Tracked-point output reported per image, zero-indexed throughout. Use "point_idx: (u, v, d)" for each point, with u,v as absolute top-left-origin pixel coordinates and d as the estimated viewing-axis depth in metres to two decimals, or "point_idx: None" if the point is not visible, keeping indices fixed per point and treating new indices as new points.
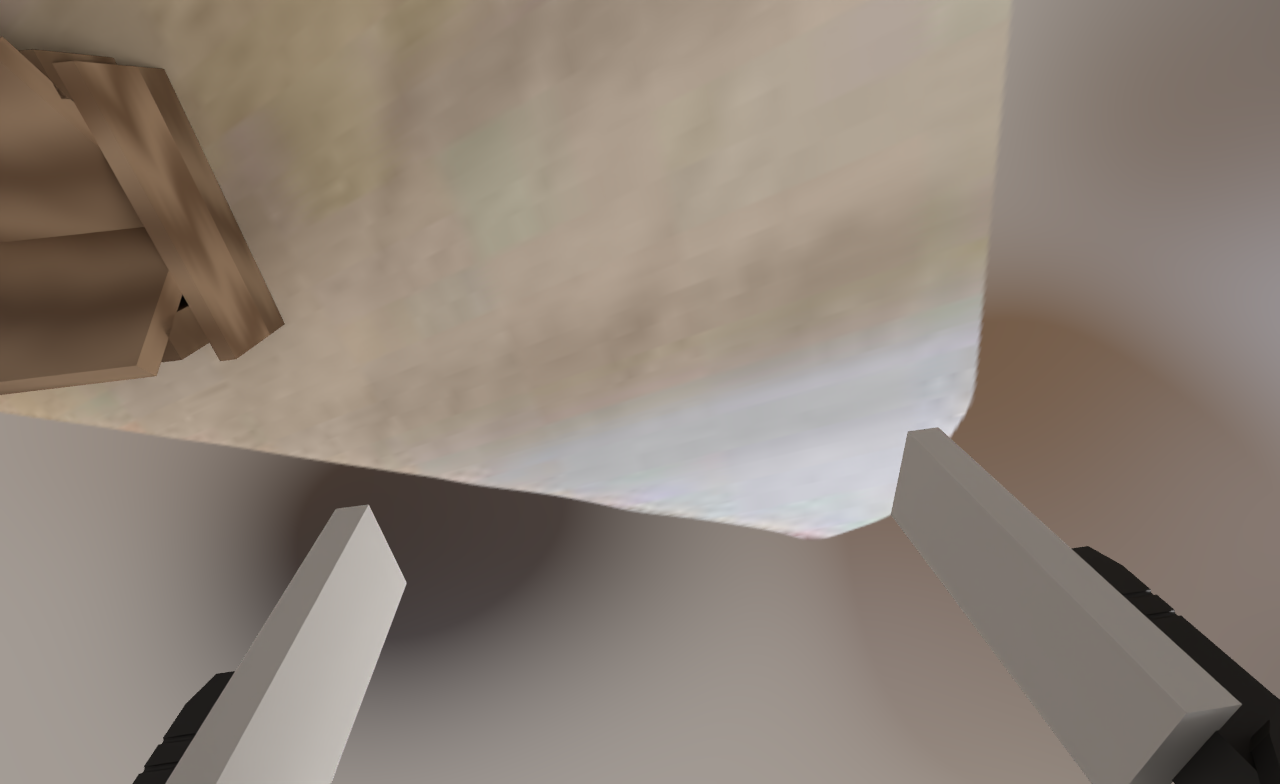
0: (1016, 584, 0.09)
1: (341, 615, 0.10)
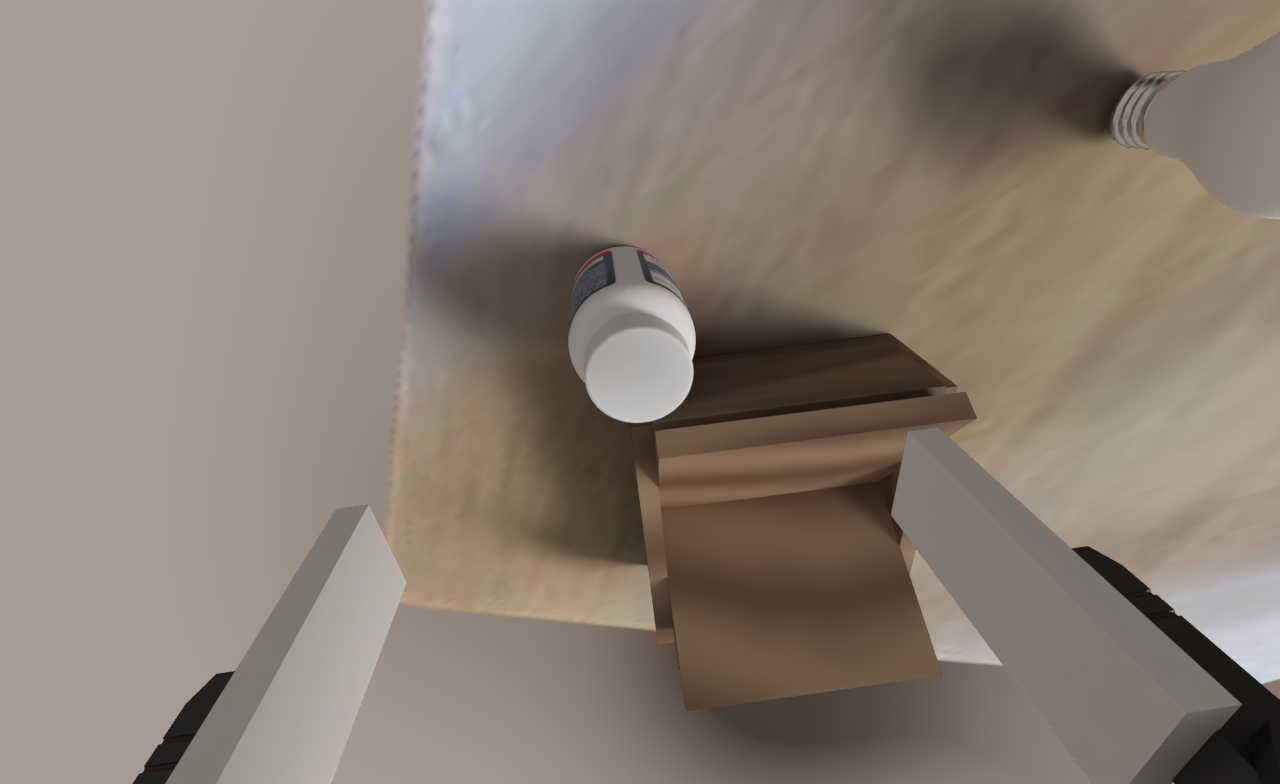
0: (1016, 584, 0.09)
1: (341, 615, 0.10)
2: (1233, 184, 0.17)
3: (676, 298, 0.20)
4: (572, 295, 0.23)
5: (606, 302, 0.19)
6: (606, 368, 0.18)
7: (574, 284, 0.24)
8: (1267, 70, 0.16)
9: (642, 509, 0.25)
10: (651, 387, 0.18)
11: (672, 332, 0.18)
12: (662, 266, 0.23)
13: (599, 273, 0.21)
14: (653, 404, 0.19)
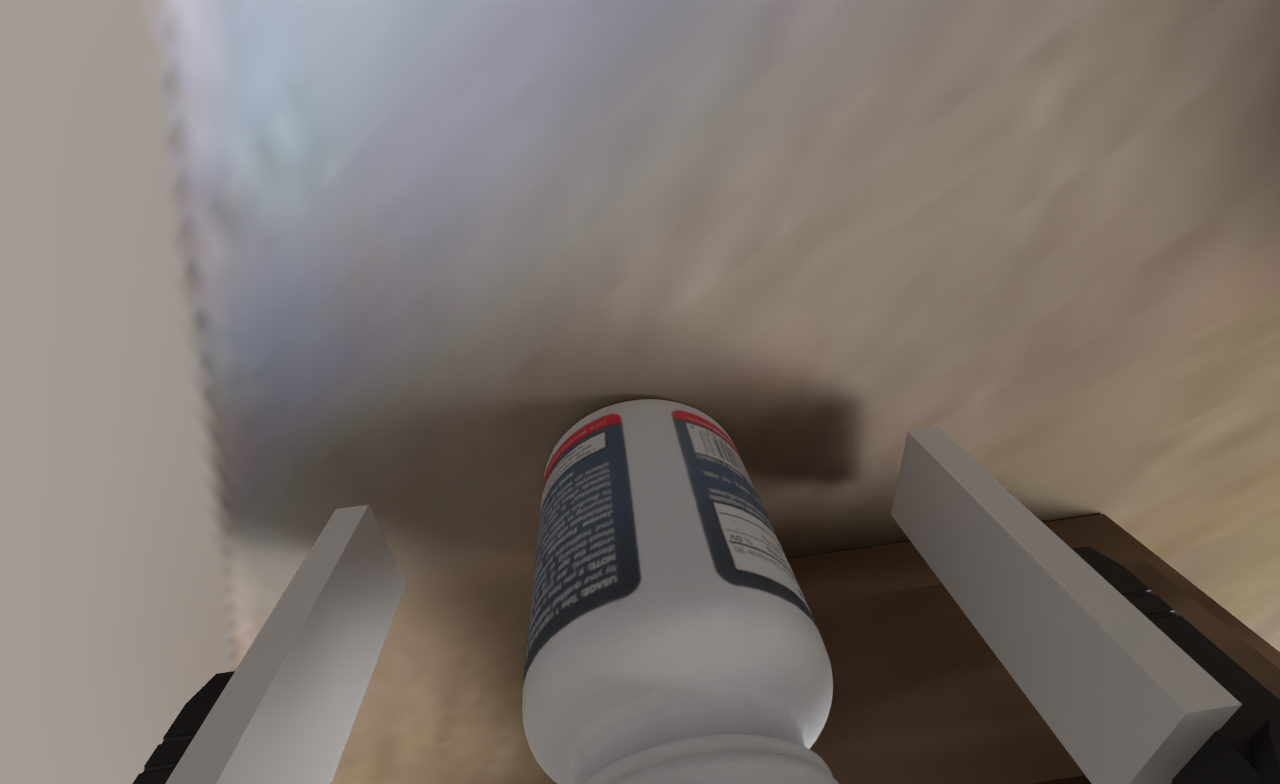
0: (1016, 584, 0.09)
1: (341, 615, 0.10)
2: None
3: (796, 618, 0.08)
4: (540, 516, 0.11)
5: (618, 666, 0.07)
6: None
7: (546, 481, 0.12)
8: None
9: None
10: None
11: None
12: (727, 452, 0.11)
13: (597, 511, 0.09)
14: None
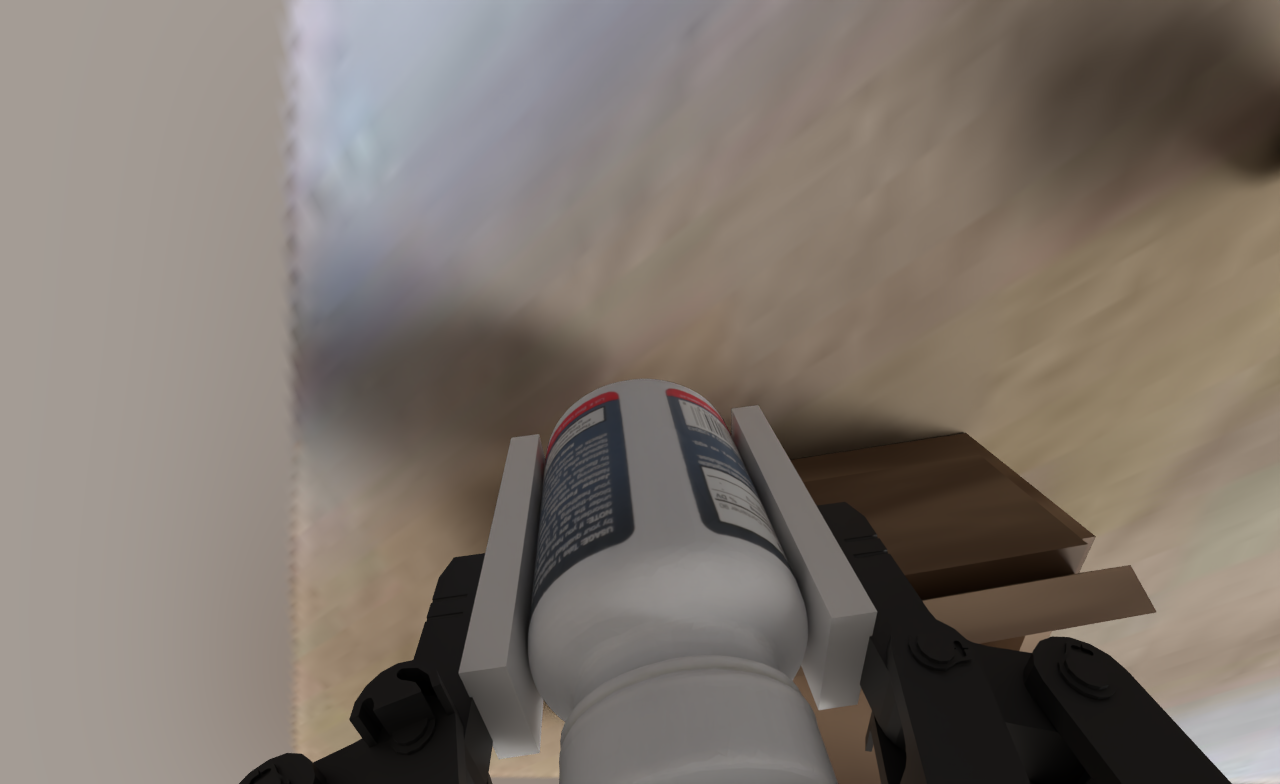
0: (776, 532, 0.11)
1: (538, 518, 0.12)
2: None
3: (773, 564, 0.09)
4: (544, 484, 0.12)
5: (613, 600, 0.08)
6: None
7: (549, 454, 0.13)
8: None
9: None
10: None
11: (796, 740, 0.07)
12: (716, 426, 0.12)
13: (596, 475, 0.10)
14: None
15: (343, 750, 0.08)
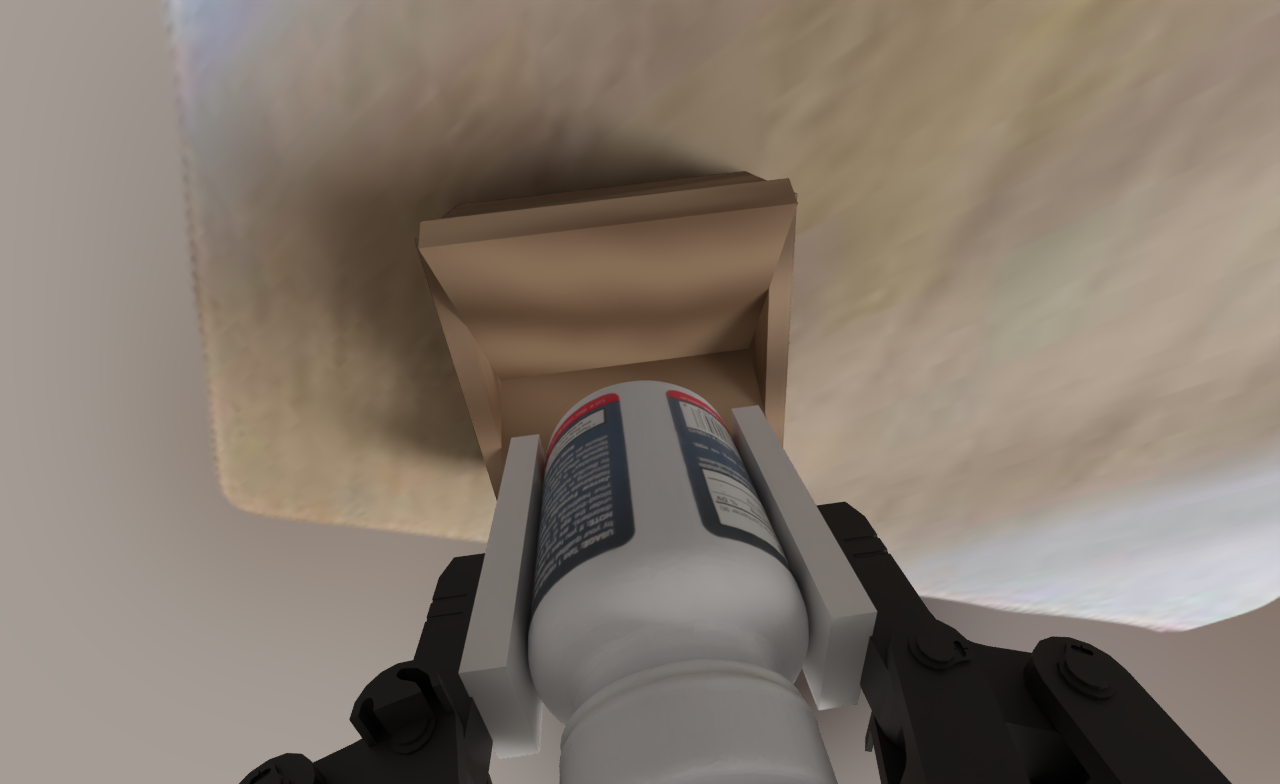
0: (775, 532, 0.11)
1: (538, 518, 0.12)
2: None
3: (774, 567, 0.09)
4: (544, 486, 0.12)
5: (613, 604, 0.08)
6: None
7: (549, 455, 0.13)
8: None
9: (452, 354, 0.22)
10: None
11: (797, 745, 0.07)
12: (717, 428, 0.12)
13: (596, 477, 0.10)
14: None
15: (343, 750, 0.08)
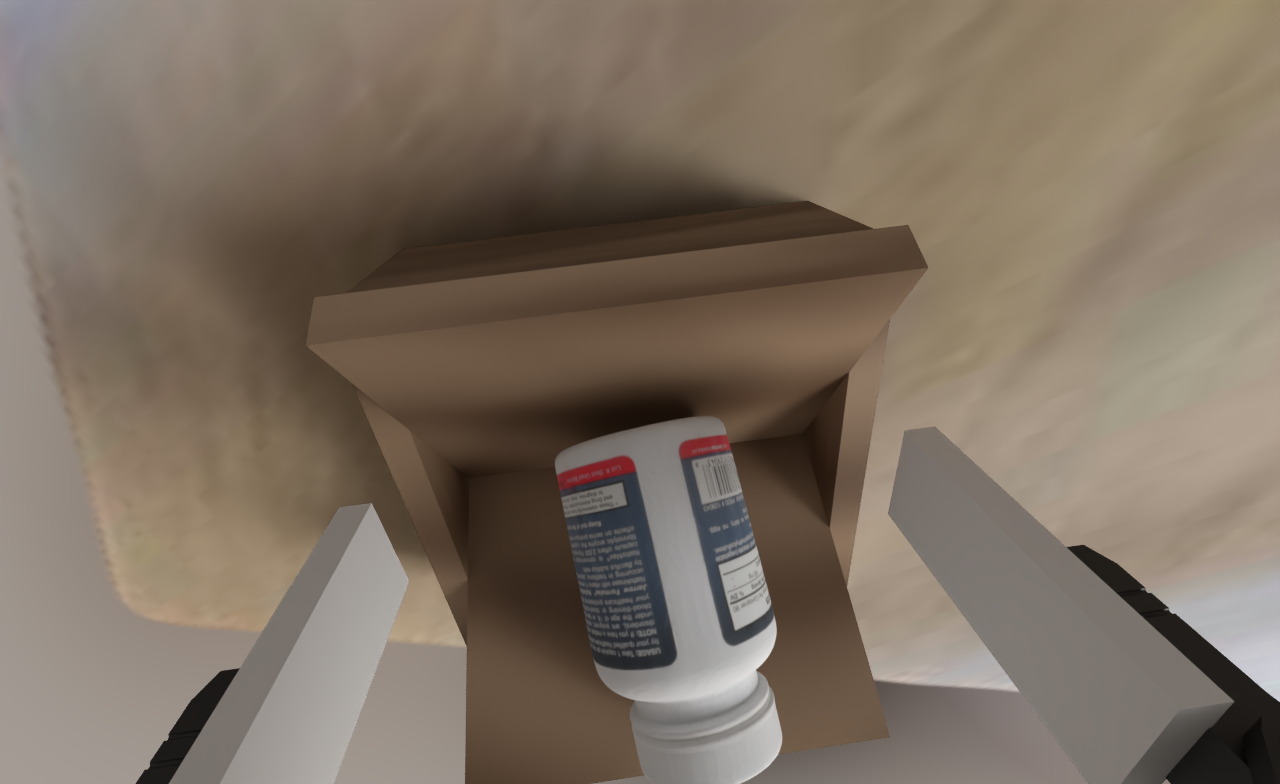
0: (1011, 583, 0.09)
1: (345, 612, 0.10)
2: None
3: (765, 640, 0.13)
4: (571, 527, 0.14)
5: (667, 698, 0.12)
6: None
7: (567, 493, 0.14)
8: None
9: (391, 467, 0.15)
10: None
11: (769, 750, 0.13)
12: (723, 477, 0.13)
13: (634, 582, 0.12)
14: None
15: None
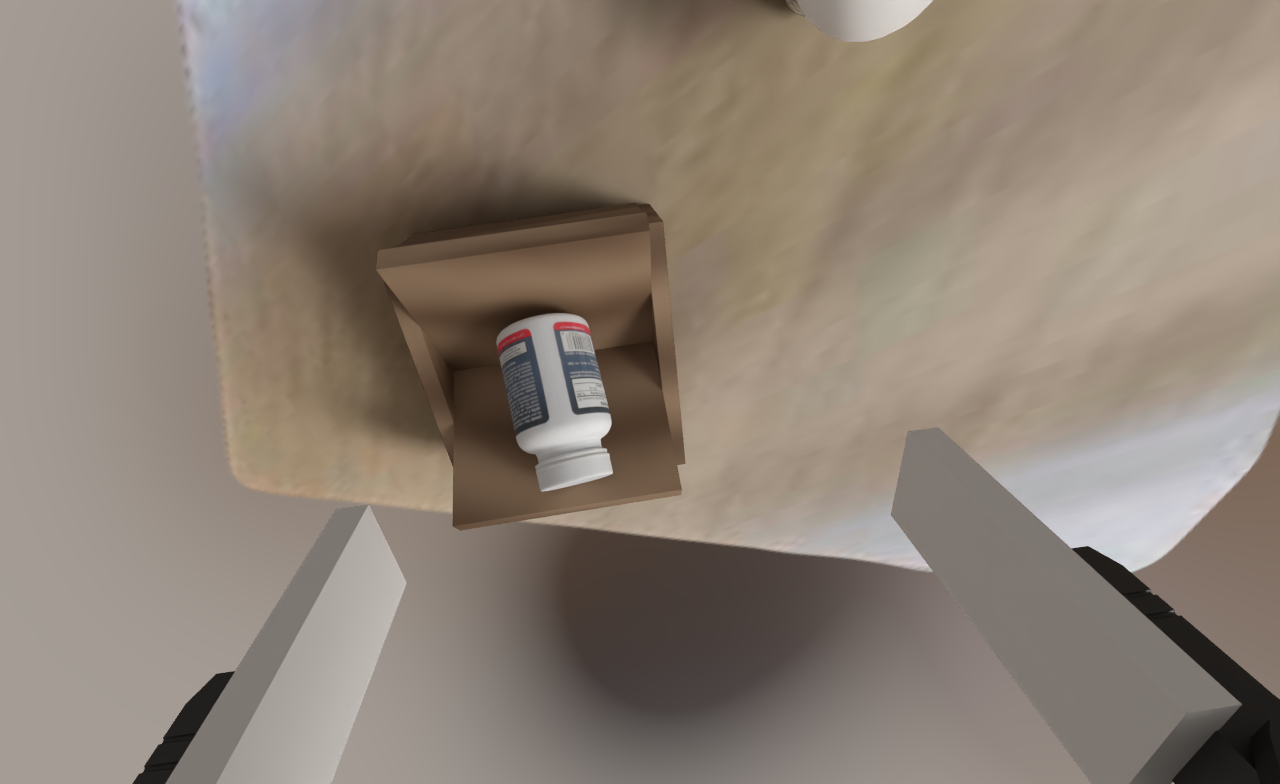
0: (1016, 584, 0.09)
1: (341, 615, 0.10)
2: (809, 7, 0.21)
3: (597, 417, 0.26)
4: (503, 371, 0.27)
5: (546, 440, 0.25)
6: (555, 487, 0.26)
7: (501, 353, 0.27)
8: None
9: (410, 349, 0.28)
10: (585, 480, 0.28)
11: (598, 469, 0.26)
12: (578, 341, 0.27)
13: (530, 387, 0.26)
14: (586, 481, 0.28)
15: None
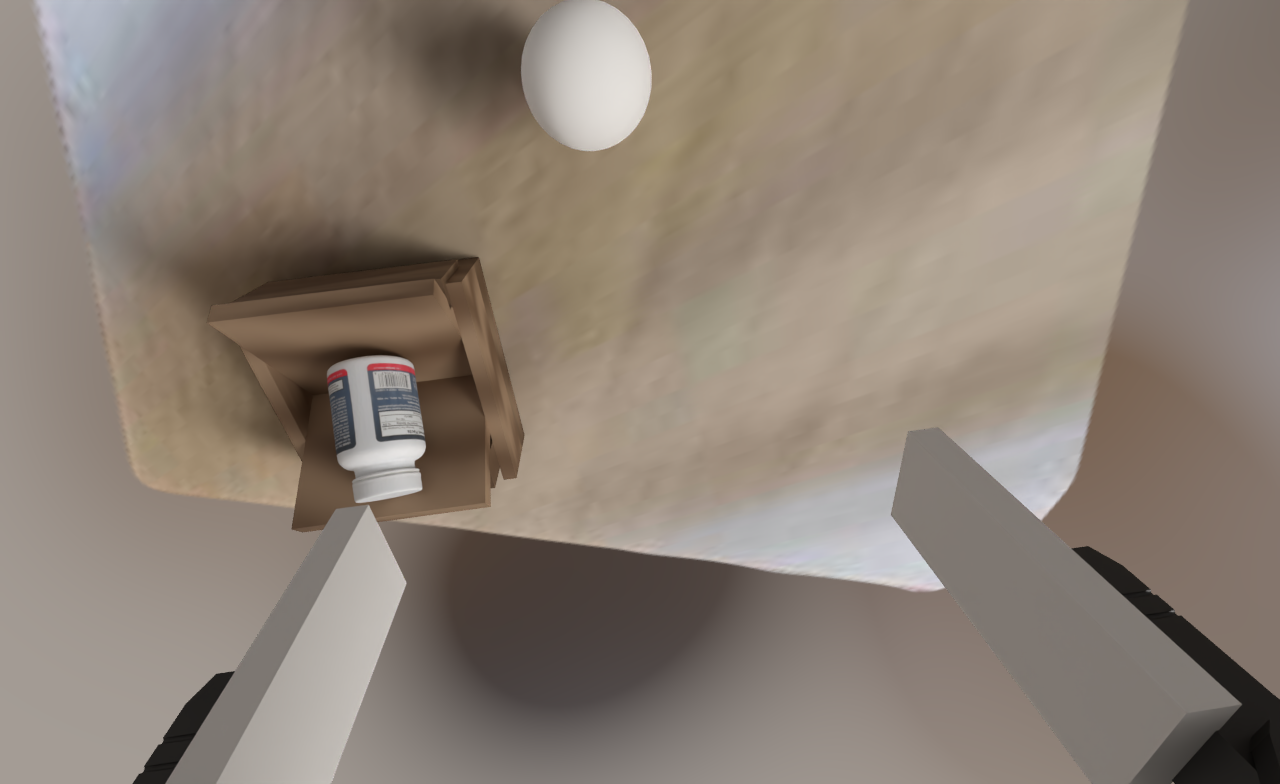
0: (1016, 584, 0.09)
1: (341, 615, 0.10)
2: None
3: (400, 444, 0.32)
4: None
5: (354, 462, 0.31)
6: (368, 500, 0.32)
7: (328, 387, 0.33)
8: None
9: (259, 380, 0.34)
10: (398, 494, 0.33)
11: (399, 486, 0.31)
12: (390, 379, 0.32)
13: (343, 418, 0.31)
14: (403, 494, 0.34)
15: None
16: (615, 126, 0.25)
